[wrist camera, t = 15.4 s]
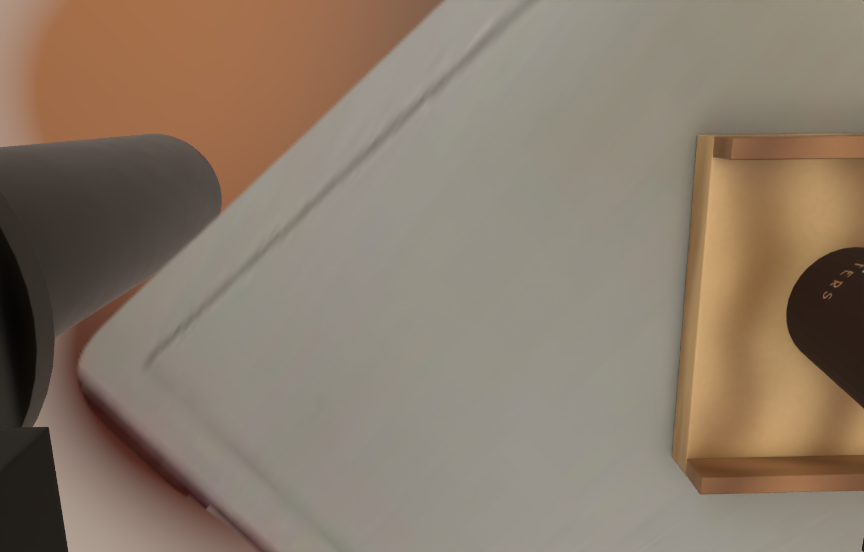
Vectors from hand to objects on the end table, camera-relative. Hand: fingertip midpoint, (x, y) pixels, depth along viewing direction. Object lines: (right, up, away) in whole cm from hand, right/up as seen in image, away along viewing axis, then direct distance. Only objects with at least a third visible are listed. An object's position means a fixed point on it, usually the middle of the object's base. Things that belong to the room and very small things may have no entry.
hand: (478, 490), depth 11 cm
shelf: (+21, +2, +26) cm, 34 cm away
